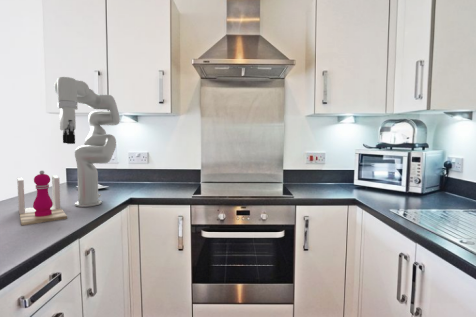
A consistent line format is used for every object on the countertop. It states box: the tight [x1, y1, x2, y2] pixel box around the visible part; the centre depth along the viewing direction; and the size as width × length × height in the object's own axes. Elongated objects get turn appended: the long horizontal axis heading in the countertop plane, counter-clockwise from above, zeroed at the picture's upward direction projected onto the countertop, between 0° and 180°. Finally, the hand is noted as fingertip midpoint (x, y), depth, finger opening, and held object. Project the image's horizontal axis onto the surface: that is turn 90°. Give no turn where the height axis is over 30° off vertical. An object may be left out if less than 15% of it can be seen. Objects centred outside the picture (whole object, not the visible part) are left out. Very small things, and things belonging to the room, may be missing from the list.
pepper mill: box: [32, 170, 53, 217], centre depth 124 cm, size 7×7×20 cm
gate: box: [16, 174, 61, 216], centre depth 136 cm, size 10×16×16 cm, turn 130°
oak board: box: [19, 208, 68, 226], centre depth 125 cm, size 16×16×1 cm
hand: (68, 143), depth 127 cm, fingers open, 9 cm apart
